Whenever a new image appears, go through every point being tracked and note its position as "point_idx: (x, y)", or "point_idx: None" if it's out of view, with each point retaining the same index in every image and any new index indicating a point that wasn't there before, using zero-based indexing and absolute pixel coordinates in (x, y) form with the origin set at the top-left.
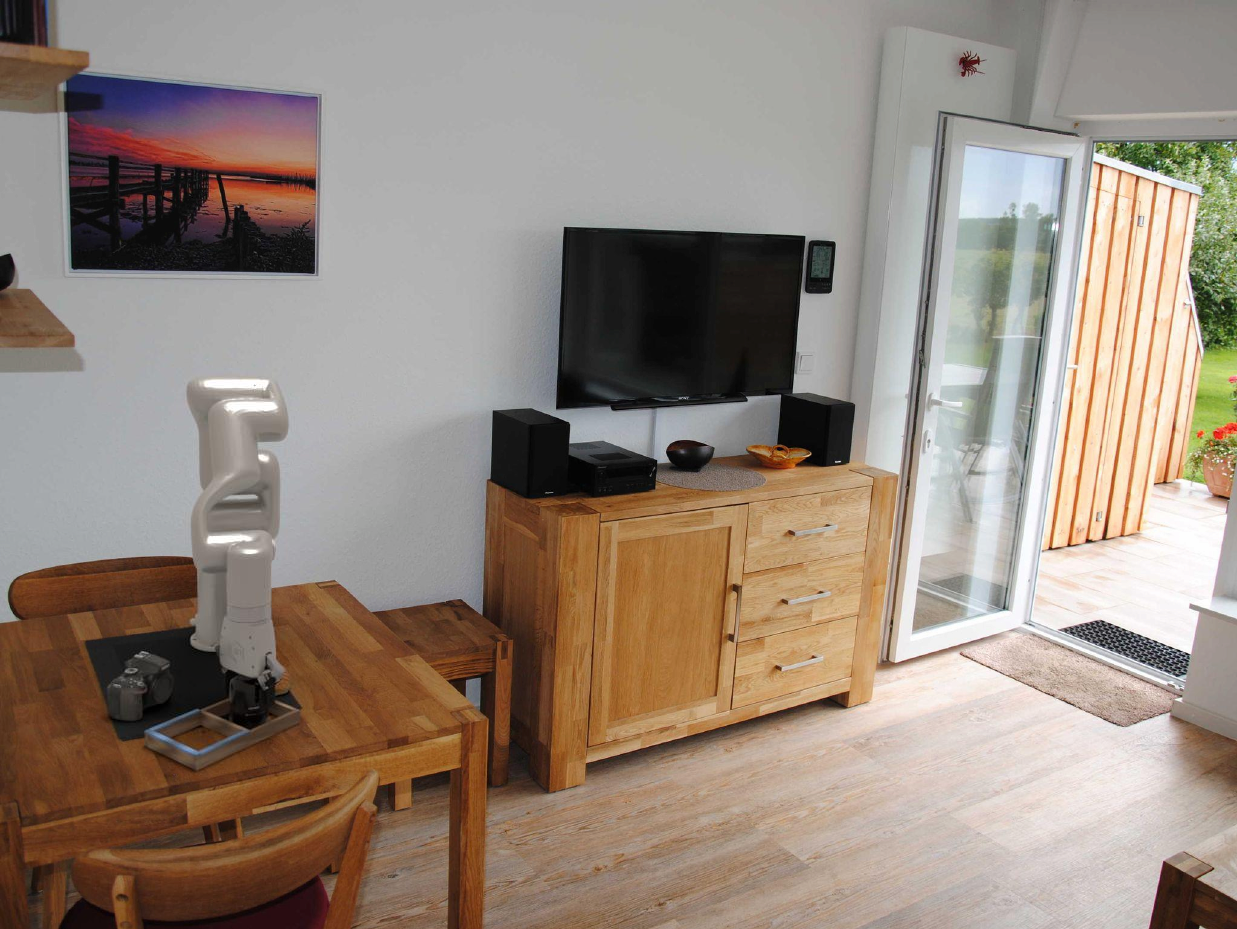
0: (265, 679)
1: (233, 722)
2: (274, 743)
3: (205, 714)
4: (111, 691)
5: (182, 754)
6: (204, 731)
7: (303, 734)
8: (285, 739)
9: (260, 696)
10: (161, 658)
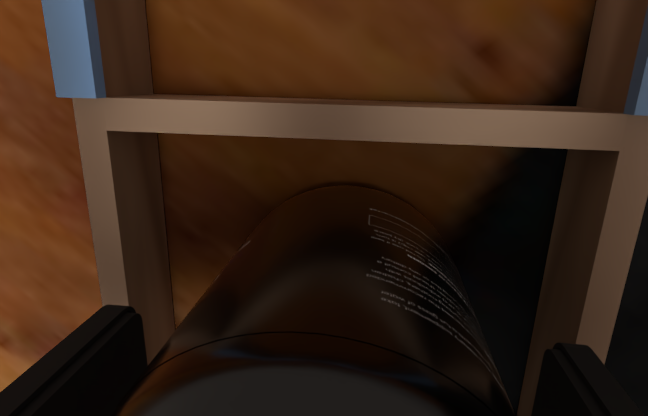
0: None
1: (353, 193)
2: (69, 197)
3: (563, 111)
4: None
5: None
6: (488, 59)
7: (57, 335)
8: (69, 257)
9: (26, 380)
10: None
